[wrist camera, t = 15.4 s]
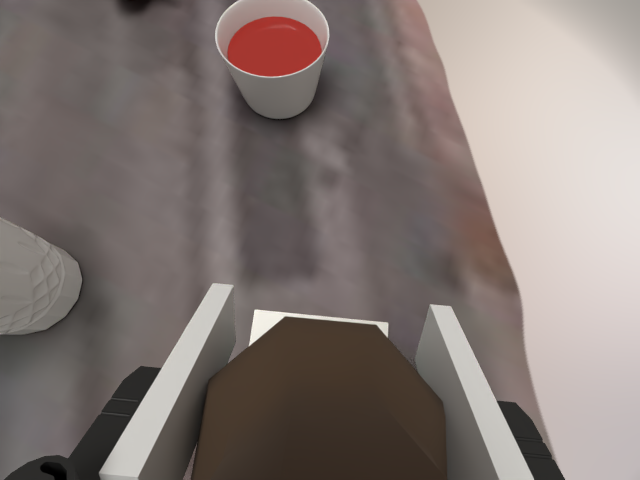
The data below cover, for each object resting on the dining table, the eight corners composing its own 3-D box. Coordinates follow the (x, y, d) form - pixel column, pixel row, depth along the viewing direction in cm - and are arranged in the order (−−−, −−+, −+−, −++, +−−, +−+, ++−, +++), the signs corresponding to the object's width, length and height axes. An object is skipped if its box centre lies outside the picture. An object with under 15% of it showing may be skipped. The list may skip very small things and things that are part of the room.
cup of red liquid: (337, 68, 34) (342, 7, 28) (309, 141, 31) (308, 90, 25) (253, 46, 34) (240, -19, 28) (218, 115, 32) (196, 59, 26)
